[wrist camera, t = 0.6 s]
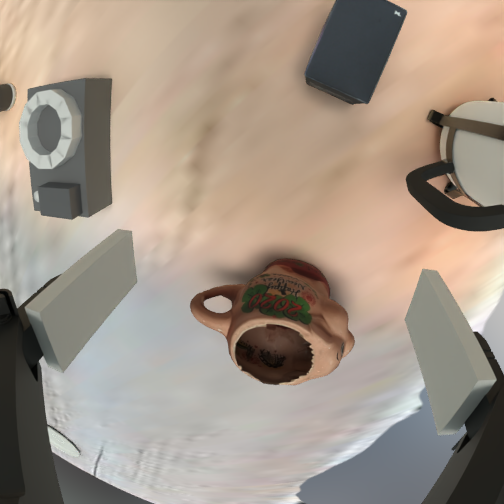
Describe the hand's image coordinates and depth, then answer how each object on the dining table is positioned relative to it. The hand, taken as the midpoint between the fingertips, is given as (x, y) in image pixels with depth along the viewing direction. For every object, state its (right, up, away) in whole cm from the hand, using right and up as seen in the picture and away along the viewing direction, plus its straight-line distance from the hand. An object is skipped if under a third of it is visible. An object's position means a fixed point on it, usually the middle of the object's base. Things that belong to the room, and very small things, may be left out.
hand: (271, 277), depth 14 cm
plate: (-75, -70, +78) cm, 129 cm away
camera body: (-26, +17, +27) cm, 41 cm away
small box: (+10, +23, +17) cm, 31 cm away
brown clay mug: (+3, -4, +31) cm, 32 cm away
